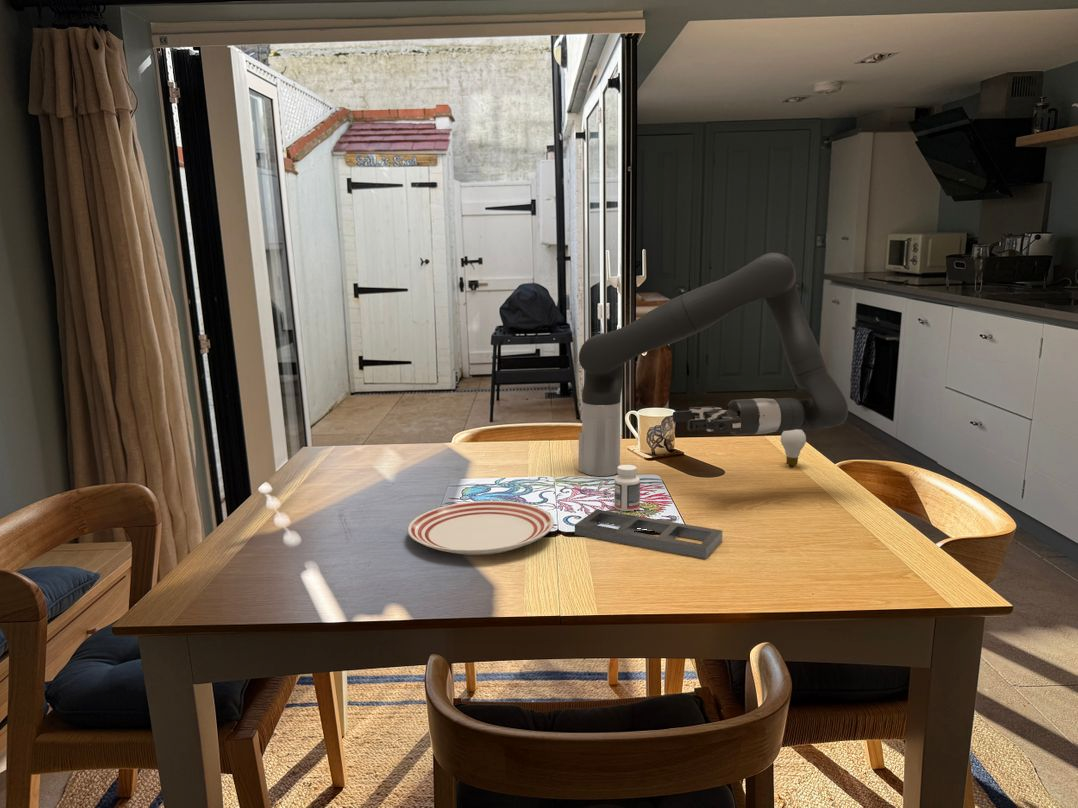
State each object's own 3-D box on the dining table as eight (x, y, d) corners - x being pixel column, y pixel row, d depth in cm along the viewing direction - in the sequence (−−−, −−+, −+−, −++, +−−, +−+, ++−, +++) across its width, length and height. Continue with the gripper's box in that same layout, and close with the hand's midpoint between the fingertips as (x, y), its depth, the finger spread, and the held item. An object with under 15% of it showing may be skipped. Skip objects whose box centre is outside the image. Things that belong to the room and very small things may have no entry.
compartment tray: (574, 534, 151) (574, 524, 150) (596, 518, 159) (596, 509, 159) (705, 559, 138) (706, 548, 138) (722, 540, 147) (722, 530, 147)
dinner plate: (380, 555, 142) (379, 537, 141) (448, 507, 167) (448, 492, 167) (522, 575, 133) (522, 557, 132) (572, 522, 158) (572, 506, 157)
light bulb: (801, 463, 197) (803, 424, 195) (806, 470, 191) (809, 430, 189) (777, 463, 198) (779, 424, 196) (781, 470, 192) (784, 429, 190)
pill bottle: (642, 505, 167) (642, 464, 165) (636, 513, 162) (637, 471, 160) (617, 502, 169) (617, 462, 167) (611, 510, 164) (612, 469, 162)
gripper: (739, 393, 173) (668, 397, 170) (770, 405, 159) (694, 410, 156) (738, 426, 175) (668, 431, 172) (768, 441, 161) (693, 447, 158)
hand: (680, 421), depth 164 cm, fingers open, 8 cm apart
